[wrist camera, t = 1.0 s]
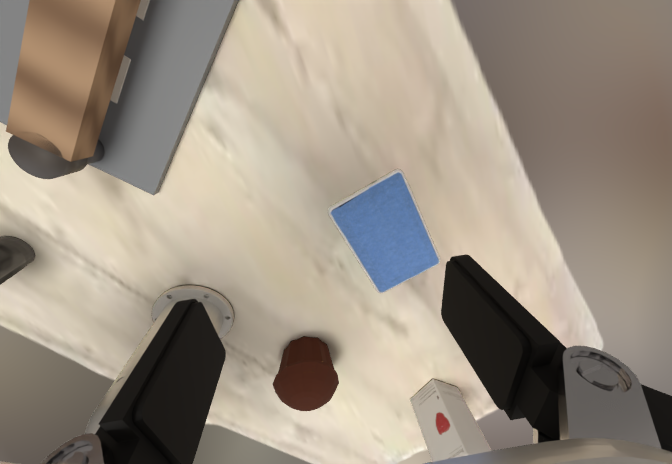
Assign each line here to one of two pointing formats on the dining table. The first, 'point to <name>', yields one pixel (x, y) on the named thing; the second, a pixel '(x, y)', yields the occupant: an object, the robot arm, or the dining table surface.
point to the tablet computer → (386, 231)
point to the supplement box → (447, 422)
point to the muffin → (306, 375)
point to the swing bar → (66, 81)
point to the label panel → (140, 82)
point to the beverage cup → (13, 256)
